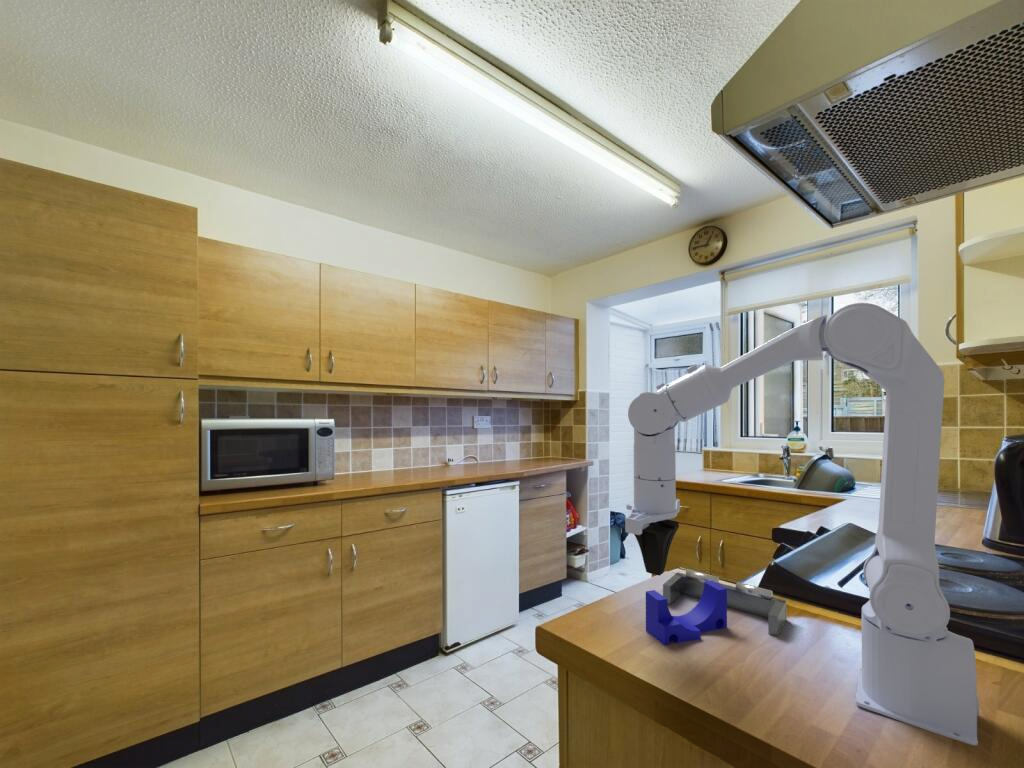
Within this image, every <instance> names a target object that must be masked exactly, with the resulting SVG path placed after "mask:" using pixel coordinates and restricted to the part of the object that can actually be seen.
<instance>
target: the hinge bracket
mask: <svg viewBox="0 0 1024 768" xmlns="http://www.w3.org/2000/svg"><path fill="white" fill-rule="evenodd" d="M708 581H714V582H716V583H717V584H719V585H721V586H723V587H725V588H726V589H727V608H731V609H734V610H738V611H742V612H746V613H748V614H749V613H750V614H752V615H756V616H760V617H764V618H766V619H767V620H768V623H767V625H768V632H767V634H768V635H770V636H773V637H774V636H775V637H779V635H780V633H781V632H782V630H783V627H784V626H785V624H786V621H787V599H783V598H779V597H776V596H773V595H774V593H773V590H771V589H766V588H763V587H759V586H755V585H751V584H747V583H743V582H739V581H737V582H736V584H735V586H733V585H728V584H725V583H720V578H719V576H715V575H711V574H707V573H704V572H698V571H695V570H691V569H686V570H685V573H682V572H676V573H675V574H673V576H671V577H670V578H669V579H668V580H666V581H665V582H664V583H663V584H662V596H664V597H665V598H667V604H668V606H669V605H670V606H671V605H672V604H673V603H674V602H675V601H676V599H678V598H679V597H680V596H681V595H686V596H689V597H693V598H696V599H699V600H700V599H701V596H702V594H703V590H704V582H708Z"/></svg>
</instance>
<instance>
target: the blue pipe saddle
mask: <svg viewBox="0 0 1024 768" xmlns="http://www.w3.org/2000/svg"><path fill="white" fill-rule="evenodd" d="M727 628H728V606H727V589H726V588H725V587H723V586H721V585H719V584H717V583H716V582H714V581H708V582H704V590H703V594H702V596H701V599H700V598H699V600H698V602H697V603H696V605H695V607H693V608H692V609H691V610H690V611H688V612H686V613H684V614H681V615H672V614H671V611H670V609H669V604H667V598H665V597H664V596H663V594H661V593H659V592H658V591H656V590H655V589H653V590H652V589H651V590H646V591H645V632H646V633H647V634H649V635H650V636H651V637H653V638H654V639H656V640H657V641H658V642H660V643H661V644H662V645H663V646H671V643H670V641H671V642H673V643H674V644H682V643H687V642H691V641H696V640H701V639H702V638H701V637H702V633H704V632H705V633H706V632H711V631H716V630H718V631H719V630H723V629H727Z"/></svg>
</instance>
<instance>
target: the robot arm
mask: <svg viewBox="0 0 1024 768" xmlns="http://www.w3.org/2000/svg"><path fill="white" fill-rule="evenodd" d="M827 317H828V314H823V315H821V316H818V317H815V318H813V319H811V320H808V321H806V322H804V323H801V324H800V325H797V326H795V327H793V328H791V329H789V330H787V331H785V332H782V333H781V334H780V335H777V336H775V337H774V338H771V339H770V340H768V341H766V342H765V343H762V344H761V345H759V346H757V347H755V348H754V349H752V350H750V351H749V352H746V353H744V354H742V355H741V356H738V357H737V358H735V359H733V360H732V361H730V362H728V363H726V364H724V365H723V366H721V367H719V366H714V365H711V364H703V365H701V366H698V365H696V364H693V365H691V366H689V367H687V368H686V372H687V373H686V374H683V375H682V376H680V377H677V378H676V379H674V380H672V381H670V382H668V383H666V384H665V383H664V382H661V383H659V384H657V385H656V386H655V387H656V392H653V391H645V392H641V393H640V394H639V395H638V396H637V397H635V398H634V399H633V400H632V401H631V403H630V405H629V406H628V411H627V417H628V421H629V423H630V425H631V427H632V428H633V502H629V503H627V504H626V509H627V510H628V511H630V512H629V515H628V516H627V517H625V518H624V519H625V520H624V522H625V525H624V526H625V528H624V529H625V530H624V531H625V533H627V534H632V535H634V537H635V539H636V541H637V543H638V546H639V549H640V553H641V557H642V560H643V565H644V568H645V572H646V573H648V574H652V575H656V576H661V575H663V574H664V572H665V569H666V566H667V565H666V564H667V560H668V556H669V551H670V547H671V544H672V542H673V540H674V537H675V535H676V533H677V531H678V530H679V529H680V523H679V522H678V521H677V520H674V519H675V518H676V517H677V516H678V513H680V512H681V510H680V509H681V508H680V507H681V499H680V498H679V499H678V498H676V497H677V495H676V494H677V493H676V490H677V489H676V488H677V487H676V482H677V481H676V476H677V475H676V471H677V470H676V466H677V465H676V464H677V463H676V443H675V440H676V439H675V434H676V433H675V429H676V427H677V426H678V424H679V423H680V422H682V423H685V422H687V421H689V420H691V419H693V418H696V417H698V416H700V415H703V414H704V413H707V412H708V411H711V410H713V409H715V408H717V407H720V406H722V405H725V404H726V403H728V401H729V399H730V396H731V392H732V390H733V389H734V388H736V387H738V386H740V385H742V384H745V383H747V382H750V381H752V380H755V379H757V378H758V377H761V376H764V375H765V374H768V373H770V372H772V371H774V370H777V369H779V368H782V367H783V366H786V365H789V364H791V363H794V362H796V361H797V362H798V361H823V359H824V354H823V352H826V353H827V354H828V355H829V357H830V358H831V359H833V360H834V361H837V362H839V363H840V364H843V365H846V366H848V367H850V368H853V369H856V370H858V371H860V372H862V373H863V374H864V375H865V376H866V377H867V378H869V379H870V380H871V381H872V382H873V383H875V384H876V385H878V386H879V387H880V388H881V389H883V390H884V392H885V405H884V406H885V407H884V426H883V441H882V442H883V443H882V457H881V458H882V459H881V474H880V475H881V476H880V477H881V478H880V493H879V494H880V495H879V509H878V510H879V512H878V527H877V529H876V533H875V537H874V538H875V539H874V540H875V541H874V548H873V551H872V552H871V554H870V555H869V556H868V558H866V560H865V562H864V564H863V569H862V570H863V571H862V572H863V577H864V580H865V583H866V584H867V588H868V592H869V600H867V602H866V603H865V604H863V605H862V607H861V668H859V672H858V678H857V685H856V686H857V687H856V696H855V704H856V705H857V706H859V707H860V708H862V709H866V710H869V711H871V712H874V713H877V714H880V715H883V716H886V717H888V718H891V719H894V720H897V721H900V722H902V723H904V724H905V723H906V724H908V725H911V726H913V727H917V728H920V729H923V730H926V731H928V732H931V733H933V734H936V735H941V736H942V737H943V736H944V737H947V738H950V739H952V740H955V741H959V742H962V743H965V744H968V745H971V746H978V744H979V741H978V740H979V739H978V717H979V716H980V704H979V703H980V702H979V697H978V695H977V694H978V691H977V690H978V688H977V687H978V686H977V683H978V681H977V679H978V678H977V664H976V652H975V645H974V641H973V640H972V639H971V638H969V637H966V636H963V635H960V634H957V633H954V632H952V631H949V630H948V626H947V625H948V623H949V621H950V617H951V610H950V605H949V603H948V600H947V598H946V597H945V595H944V593H943V592H942V590H941V587H940V567H939V565H940V564H939V562H938V554H937V550H936V544H935V542H936V525H937V523H936V522H937V512H938V511H937V509H938V494H939V493H938V492H939V475H940V460H941V444H942V442H941V441H942V430H943V429H942V427H943V412H944V411H943V410H944V397H945V396H944V394H945V375H944V372H943V371H942V369H941V368H940V366H939V365H938V364H937V362H936V361H935V360H934V359H933V357H932V356H931V355H930V354H929V352H928V351H927V349H926V348H925V347H924V346H923V345H922V344H921V342H920V341H919V340H918V338H917V337H916V336H915V334H914V333H913V332H912V330H911V328H910V326H909V324H908V322H907V321H906V320H904V319H903V318H901V317H899V316H898V315H896V314H895V313H893V312H891V311H889V310H887V309H886V308H883V307H882V306H879V305H877V304H873V303H868V302H856V303H851V304H848V305H845V306H842V307H841V308H839V309H838V310H836V311H835V312H834V313H832V314H831V316H830V317H828V318H827ZM827 319H828V320H827ZM672 519H673V520H672Z"/></svg>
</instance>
